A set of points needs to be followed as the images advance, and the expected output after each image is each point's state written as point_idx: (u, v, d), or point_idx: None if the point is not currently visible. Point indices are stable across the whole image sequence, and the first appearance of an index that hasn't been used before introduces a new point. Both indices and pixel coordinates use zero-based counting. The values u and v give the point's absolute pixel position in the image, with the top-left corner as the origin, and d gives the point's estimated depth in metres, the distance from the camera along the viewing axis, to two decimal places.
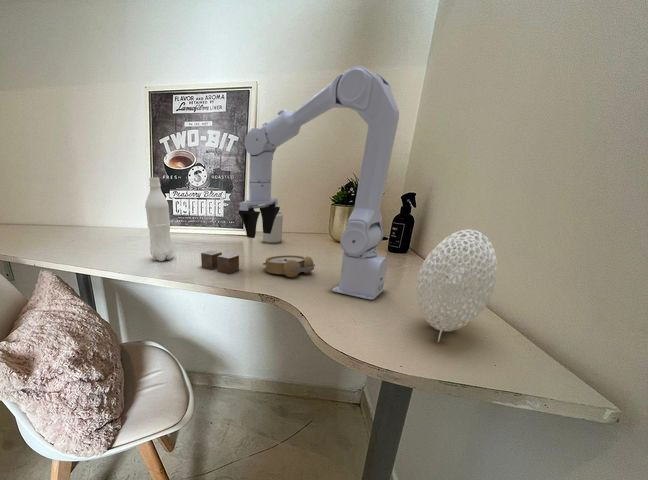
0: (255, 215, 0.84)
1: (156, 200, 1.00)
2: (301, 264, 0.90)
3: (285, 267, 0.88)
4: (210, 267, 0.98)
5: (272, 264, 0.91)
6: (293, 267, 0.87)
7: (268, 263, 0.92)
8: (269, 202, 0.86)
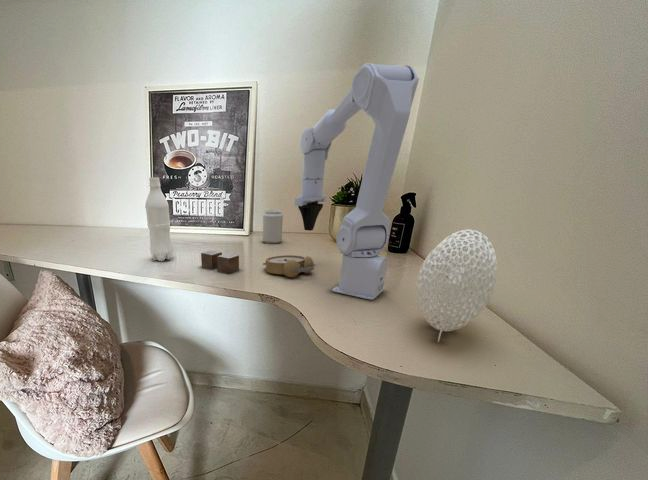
0: (315, 209, 0.91)
1: (156, 200, 1.00)
2: (301, 264, 0.90)
3: (285, 267, 0.88)
4: (210, 267, 0.98)
5: (272, 264, 0.91)
6: (293, 267, 0.87)
7: (268, 263, 0.92)
8: (321, 198, 0.91)
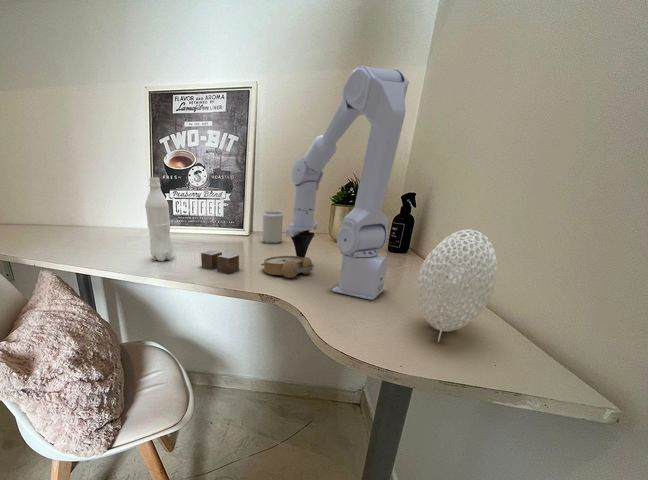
0: (307, 238, 0.92)
1: (156, 200, 1.00)
2: (300, 265, 0.90)
3: (283, 268, 0.87)
4: (210, 267, 0.98)
5: (270, 265, 0.90)
6: (292, 268, 0.86)
7: (266, 264, 0.91)
8: (312, 228, 0.91)
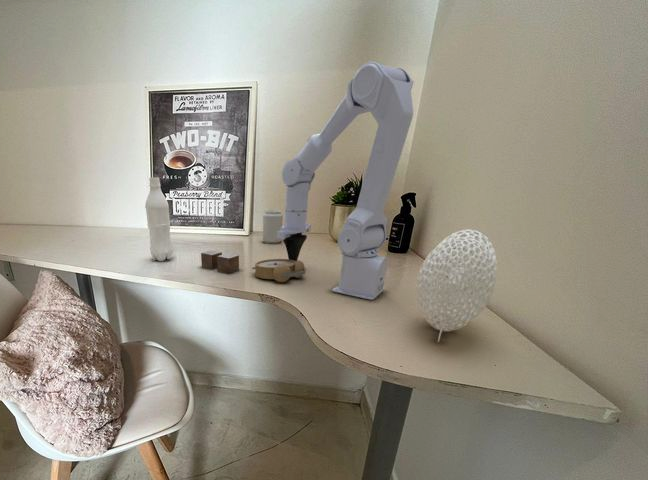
0: (299, 241, 0.89)
1: (156, 200, 1.00)
2: (292, 268, 0.87)
3: (275, 272, 0.84)
4: (210, 267, 0.98)
5: (262, 268, 0.87)
6: (283, 272, 0.83)
7: (257, 267, 0.88)
8: (304, 230, 0.88)
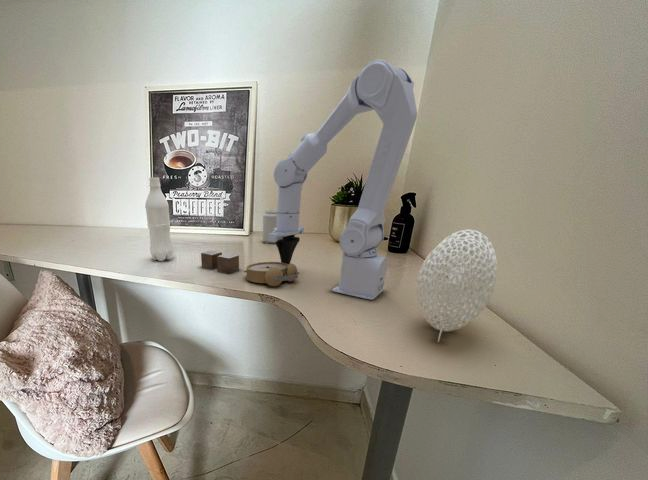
0: (291, 244, 0.86)
1: (156, 200, 1.00)
2: (284, 272, 0.84)
3: (266, 275, 0.81)
4: (210, 267, 0.98)
5: (253, 272, 0.84)
6: (275, 275, 0.80)
7: (249, 271, 0.85)
8: (297, 232, 0.86)
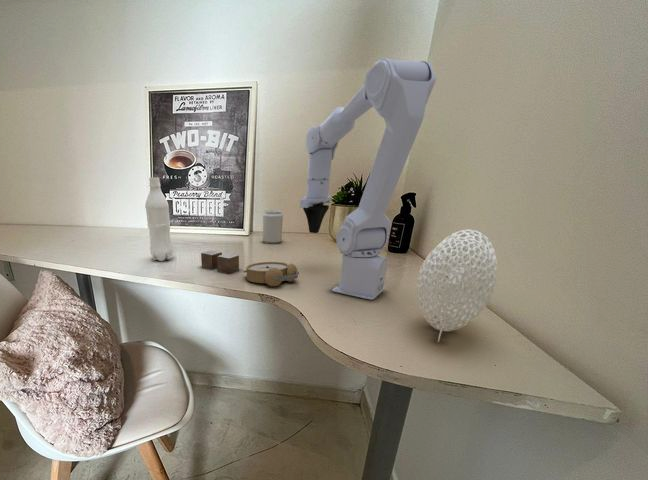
0: (321, 211, 0.87)
1: (156, 200, 1.00)
2: (284, 272, 0.84)
3: (266, 275, 0.81)
4: (210, 267, 0.98)
5: (253, 272, 0.84)
6: (275, 275, 0.80)
7: (249, 271, 0.85)
8: (327, 199, 0.87)
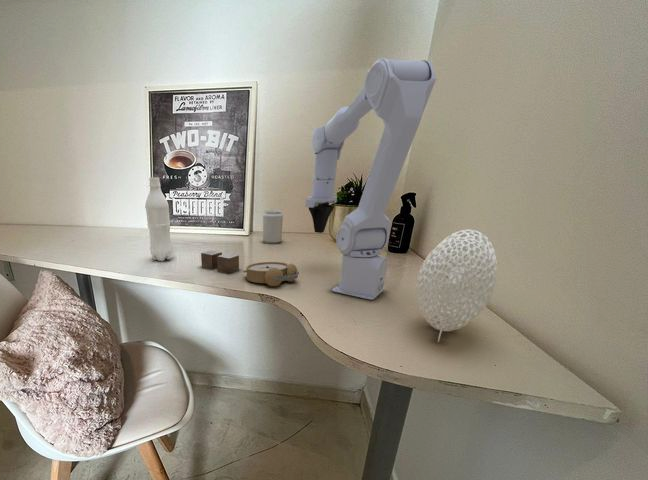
0: (326, 210, 0.88)
1: (156, 200, 1.00)
2: (284, 272, 0.84)
3: (266, 275, 0.81)
4: (210, 267, 0.98)
5: (253, 272, 0.84)
6: (275, 275, 0.80)
7: (249, 271, 0.85)
8: (332, 199, 0.87)
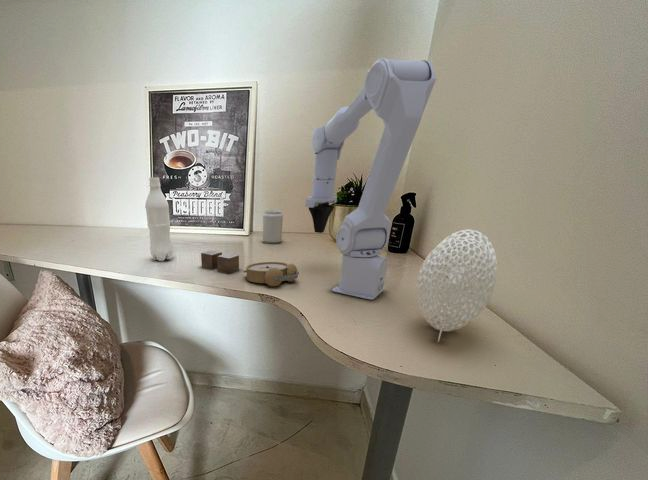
0: (326, 210, 0.88)
1: (156, 200, 1.00)
2: (284, 272, 0.84)
3: (266, 275, 0.81)
4: (210, 267, 0.98)
5: (253, 272, 0.84)
6: (275, 275, 0.80)
7: (249, 271, 0.85)
8: (332, 199, 0.87)
